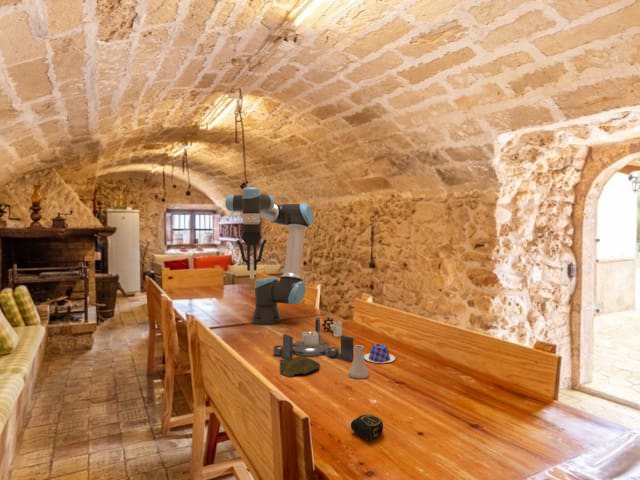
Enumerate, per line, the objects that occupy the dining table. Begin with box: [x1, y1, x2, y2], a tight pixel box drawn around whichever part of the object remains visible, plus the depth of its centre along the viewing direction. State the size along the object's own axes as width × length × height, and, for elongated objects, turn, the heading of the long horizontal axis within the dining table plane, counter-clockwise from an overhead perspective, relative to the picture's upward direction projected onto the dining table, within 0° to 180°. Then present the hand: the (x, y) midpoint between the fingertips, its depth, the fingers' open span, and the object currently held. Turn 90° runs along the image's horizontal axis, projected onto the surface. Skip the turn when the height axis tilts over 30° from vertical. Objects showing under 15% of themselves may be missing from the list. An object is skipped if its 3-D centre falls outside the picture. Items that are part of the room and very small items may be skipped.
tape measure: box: [350, 414, 384, 442], centre depth 99 cm, size 7×7×4 cm
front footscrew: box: [272, 333, 294, 360], centre depth 157 cm, size 11×4×9 cm, turn 37°
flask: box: [348, 344, 370, 379], centre depth 138 cm, size 7×7×10 cm
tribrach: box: [293, 316, 354, 363], centre depth 167 cm, size 36×25×9 cm
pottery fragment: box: [279, 356, 321, 379], centre depth 143 cm, size 14×14×4 cm
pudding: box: [363, 343, 396, 364], centre depth 155 cm, size 12×12×5 cm
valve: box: [321, 317, 343, 338], centre depth 190 cm, size 7×7×12 cm
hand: (252, 278), depth 174 cm, fingers closed
